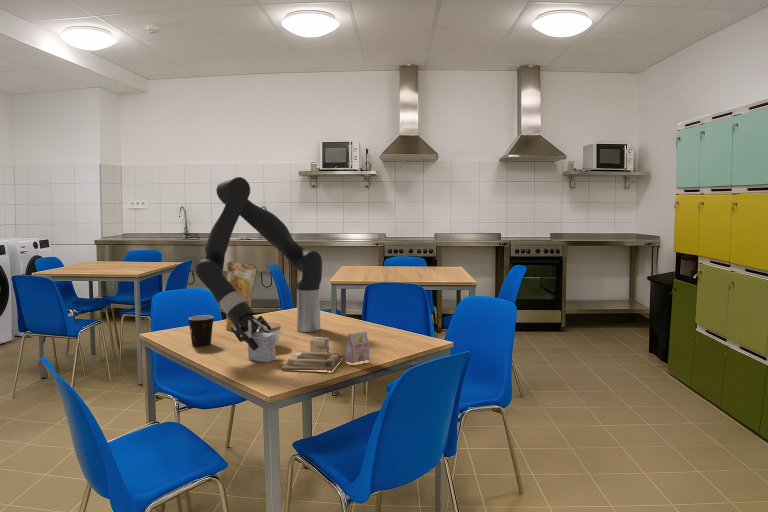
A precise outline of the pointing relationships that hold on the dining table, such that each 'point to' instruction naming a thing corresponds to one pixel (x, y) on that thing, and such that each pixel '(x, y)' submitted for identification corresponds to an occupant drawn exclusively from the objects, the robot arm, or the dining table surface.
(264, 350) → the medicine box
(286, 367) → the socket plate
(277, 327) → the lidded jar
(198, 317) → the coffee mug
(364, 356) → the white paper bag
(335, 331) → the dining table surface
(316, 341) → the maple block
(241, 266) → the pancake mix bag
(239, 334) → the robot arm
